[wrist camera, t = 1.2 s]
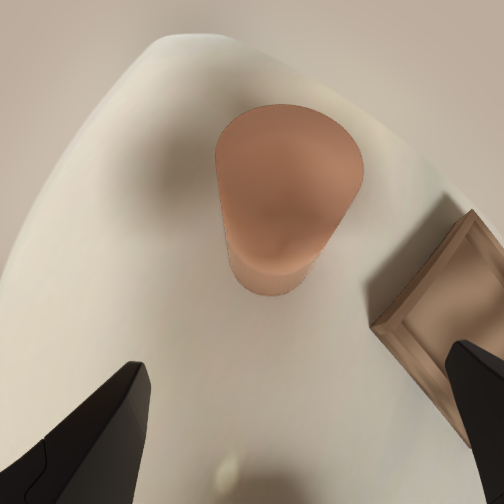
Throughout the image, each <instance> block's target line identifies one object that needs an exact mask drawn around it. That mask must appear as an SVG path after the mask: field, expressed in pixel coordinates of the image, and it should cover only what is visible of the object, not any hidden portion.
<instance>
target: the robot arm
mask: <svg viewBox="0 0 504 504" xmlns="http://www.w3.org/2000/svg"><path fill="white" fill-rule="evenodd" d="M445 370H446V373H447V376H448V379H449V382H450V386H451V389H452V393H453V396H454V400H455V403H456V406H457V409H458V412H459V415H460V417H461V420H462V423H463V425H464V428H465V431H466V434H467V437H468V440H469V443H470V446H471V449H472V452H473V455H474V458H475V461H476V465H477V468H478V471H479V475H480V479H481V482H482V486H483V490H484V494H485V498H486V502H487V504H504V360H502V359H501V358H499V357H497V356H495V355H493V354H492V353H490V352H488V351H486V350H484V349H483V348H481V347H479V346H477V345H475V344H474V343H472V342H470V341H468V340H466V339H462V340H457V341H455V342H454V343H453V344H452V346H451V349H450V351H449V353H448V355H447V357H446V360H445ZM150 394H151V383H150V379H149V376H148V373H147V370H146V367H145V365H144V363H143V362H137V361H129V362H127V363H126V364H125V365H124V366H122V367H121V368H120V369H119V370H118V371H117V372H116V373H115V374H114V375H113V376H111V377H110V378H109V379H108V380H107V381H106V382H105V383H104V384H103V385H101V386H100V387H99V388H98V389H97V390H96V391H95V392H94V393H93V394H91V395H90V396H89V397H88V398H87V399H86V400H85V401H84V402H83V403H81V404H80V405H79V406H78V407H77V408H76V409H75V410H74V411H73V412H71V413H70V414H69V415H68V416H67V417H66V418H65V419H64V420H63V421H61V422H60V423H59V424H58V425H57V426H56V427H55V428H54V429H53V430H52V431H50V432H49V433H48V434H47V435H46V436H45V437H44V439H41V440H40V441H39V442H38V443H37V444H36V445H35V446H34V447H32V448H31V449H30V450H29V451H28V452H27V453H25V454H24V455H23V456H22V457H21V458H19V459H18V460H17V461H15V462H14V463H13V464H11V465H10V466H9V467H7V468H6V469H4V470H3V471H2V472H0V504H132V503H133V498H134V492H135V487H136V482H137V477H138V472H139V467H140V462H141V458H142V453H143V449H144V444H145V439H146V431H147V421H148V412H149V403H150Z"/></svg>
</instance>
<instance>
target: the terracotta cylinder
mask: <svg viewBox="0 0 504 504" xmlns="http://www.w3.org/2000/svg"><path fill="white" fill-rule="evenodd" d="M215 162H216V170H217V178H218V185H219V192H220V199H221V206H222V213H223V220H224V227H225V234H226V240H227V247H228V254H229V260H230V265H231V269H232V272H233V274H234V276H235V277H236V279H237V280H238V281H239V283H240V284H241V285H242V286H244V287H245V288H246V289H248V290H249V291H251V292H253V293H256V294H259V295H263V296H279V295H283V294H285V293H288V292H290V291H292V290H293V289H295V288H296V287H297V286H298V285H299V284H300V283H301V282H302V281H303V279H304V278H305V276H306V275H307V273H308V272H309V270H310V269H311V267H312V266H313V264H314V263H315V261H316V260H317V258H318V256H319V255H320V253H321V252H322V250H323V249H324V247H325V245H326V244H327V242H328V241H329V239H330V237H331V236H332V234H333V233H334V231H335V229H336V228H337V226H338V225H339V223H340V221H341V220H342V218H343V216H344V215H345V213H346V211H347V210H348V208H349V207H350V205H351V203H352V202H353V200H354V198H355V196H356V195H357V193H358V191H359V189H360V187H361V184H362V180H363V173H364V168H363V160H362V156H361V153H360V151H359V148H358V146H357V144H356V143H355V141H354V140H353V138H352V137H351V136H350V134H349V133H348V132H347V131H346V130H345V129H344V128H343V127H342V126H341V125H339V124H338V123H337V122H335V121H334V120H333V119H331V118H329V117H328V116H326V115H324V114H322V113H320V112H317V111H315V110H312V109H309V108H305V107H301V106H295V105H285V104H279V105H268V106H263V107H258V108H255V109H253V110H250V111H248V112H246V113H243V114H242V115H240V116H239V117H237V118H236V119H234V120H233V121H232V122H231V123H230V124H229V125H228V126H227V127H226V128H225V130H224V131H223V132H222V134H221V136H220V138H219V140H218V143H217V146H216V152H215Z"/></svg>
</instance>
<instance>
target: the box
mask: <svg viewBox="0 0 504 504" xmlns="http://www.w3.org/2000/svg"><path fill="white" fill-rule="evenodd" d="M370 329H371V330H372V332H373V333H374V334H375V335H376V336H377V337H378V338H379V340H380V341H381V342H382V343H383V344H384V345H385V347H386V348H387V349H388V350H389V351H390V352H391V353H392V355H393V356H394V357H395V358H396V359H397V360H398V362H399V363H400V364H401V365H402V366H403V367H404V369H405V370H406V371H407V372H408V373H409V375H410V376H411V377H412V378H413V379H414V381H415V382H416V383H417V384H418V385H419V386H420V388H421V389H422V390H423V391H424V392H425V394H426V395H427V396H428V397H429V399H430V400H431V401H432V402H433V403H434V405H435V406H436V407H437V408H438V410H439V411H440V412H441V413H442V414H443V416H444V417H445V418H446V419H447V421H448V422H449V423H450V424H451V426H452V427H453V428H454V429H455V431H456V432H457V433H458V434H459V436H460V437H461V438H462V439H463V441H464V442H465V443H466V445H467V446H468V447H469V448H470V449H471V446H470V443H469V440H468V437H467V434H466V431H465V428H464V425H463V423H462V420H461V417H460V415H459V412H458V409H457V406H456V403H455V400H454V396H453V393H452V389H451V386H450V382H449V379H448V376H447V373H446V370H445V360H446V357H447V355H448V353H449V351H450V349H451V346H452V344H453V343H454V342H455V341H457V340H462V339H466V340H468V341H470V342H472V343H474V344H475V345H477V346H479V347H481V348H483V349H484V350H486V351H488V352H490V353H492V354H493V355H495V356H497V357H499V358H501V359H502V360H504V248H503V247H502V246H501V244H500V243H499V242H498V240H497V239H496V238H495V236H494V235H493V234H492V232H491V231H490V230H489V229H488V227H487V226H486V225H485V224H484V222H483V221H482V220H481V219H480V217H479V216H478V215H477V214H476V213H475V211H474V210H473V209H471V210H470V211H469V212H468V213H467V214H465V215H464V216H463V217H462V218H461V219H459V220H458V221H457V222H456V223H455V224H454V225H453V227H452V228H451V230H450V231H449V232H448V234H447V235H446V237H445V238H444V239H443V241H442V242H441V243H440V245H439V246H438V247H437V249H436V250H435V251H434V253H433V254H432V255H431V257H430V258H429V259H428V261H427V262H426V263H425V264H424V266H423V267H422V268H421V269H420V271H419V272H418V273H417V274H416V276H415V277H414V278H413V279H412V281H411V282H410V283H409V284H408V285H407V287H406V288H405V289H404V290H403V291H402V292H401V294H400V295H399V296H398V297H397V298H396V299H395V301H394V302H393V303H392V304H391V305H390V306H389V307H388V309H387V310H386V311H385V312H384V313H383V314H382V315H381V316H380V317H379V318H378V320H377V321H376V322H375V323H374V324H373V325H372V326H371V327H370Z"/></svg>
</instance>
